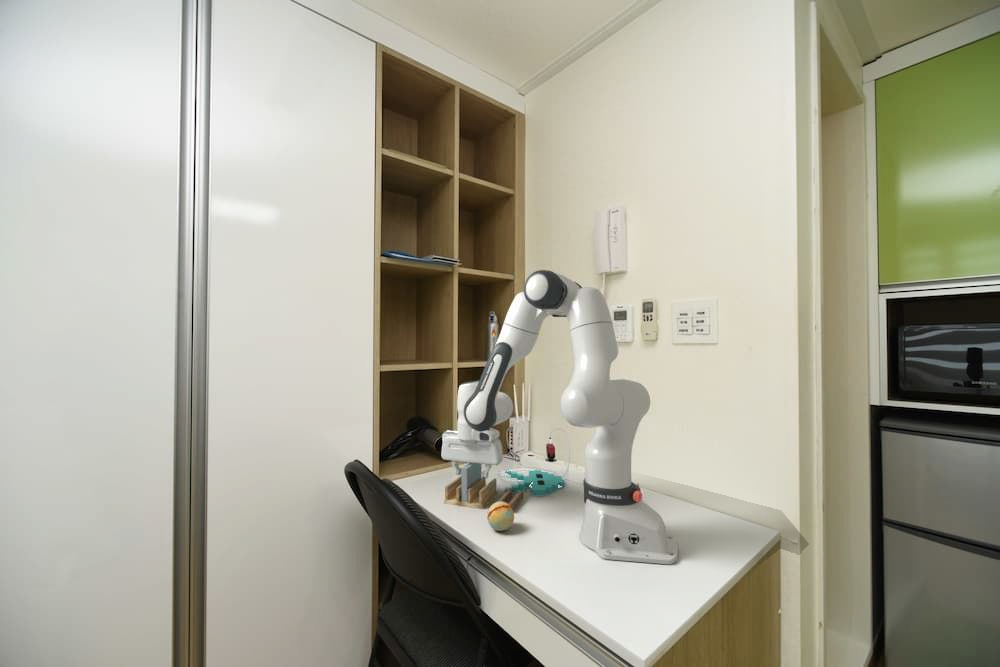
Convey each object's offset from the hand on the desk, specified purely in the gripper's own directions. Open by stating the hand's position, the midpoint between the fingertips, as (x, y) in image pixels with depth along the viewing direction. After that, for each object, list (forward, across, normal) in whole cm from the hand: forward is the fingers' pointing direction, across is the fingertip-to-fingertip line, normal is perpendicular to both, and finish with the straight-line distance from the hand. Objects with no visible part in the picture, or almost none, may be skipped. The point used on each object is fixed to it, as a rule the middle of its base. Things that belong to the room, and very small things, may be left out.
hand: (471, 476), depth 121 cm
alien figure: (+8, +15, +19) cm, 25 cm away
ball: (+7, +16, -16) cm, 24 cm away
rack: (+7, 0, 0) cm, 7 cm away
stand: (+7, +13, 0) cm, 15 cm away
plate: (+6, 0, 0) cm, 6 cm away
